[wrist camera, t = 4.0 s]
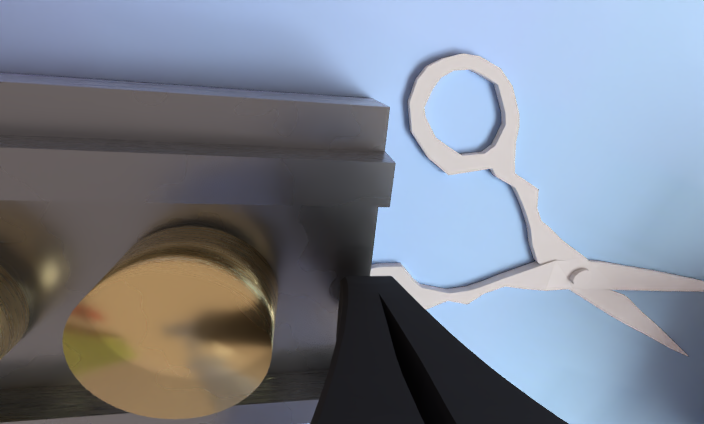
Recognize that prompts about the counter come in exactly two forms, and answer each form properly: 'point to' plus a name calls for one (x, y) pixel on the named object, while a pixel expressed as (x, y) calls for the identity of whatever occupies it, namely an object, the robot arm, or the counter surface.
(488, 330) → the counter surface
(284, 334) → the slot block
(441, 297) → the scissors
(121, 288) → the brass disc
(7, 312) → the brass disc
